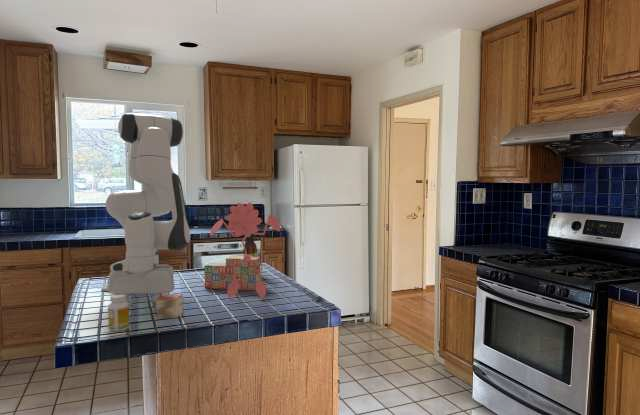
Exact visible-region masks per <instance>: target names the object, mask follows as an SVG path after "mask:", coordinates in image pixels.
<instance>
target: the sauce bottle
mask: <svg viewBox="0 0 640 415" xmlns="http://www.w3.org/2000/svg"><path fill="white" fill-rule="evenodd" d="M254 236H255V234H251V236H250V237H246V239H245V240H244V245H245V249H246V252H247V254H248V255H250V256H253V257H259V254H258V248H257V244H256V243H255V238H254ZM242 249H243V251H242V253H243V254H242V256H244V255H246V253H245V250H244V248H242Z"/></svg>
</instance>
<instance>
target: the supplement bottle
mask: <svg viewBox="0 0 640 415" xmlns="http://www.w3.org/2000/svg"><path fill="white" fill-rule="evenodd" d="M109 298H110V303H109V304H108V306H107V312H108V313H107V315H108V316H107V317H108V330H109V331H111V332H120V331H121V332H122V331H125V330H128V329H129V327H130V318H129V317H130V315H129V314H130V313H129V307H128V303H127V302H125V300H126V297H125V295H124V294H113V295H110V297H109Z"/></svg>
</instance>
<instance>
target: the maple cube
mask: <svg viewBox="0 0 640 415" xmlns="http://www.w3.org/2000/svg"><path fill="white" fill-rule="evenodd" d="M183 302H184V301H183V294H182V293H169V294H162V296H161V297H160V298H158V299H157V307H156V309H157V310H156V311H157V312H156V316H157V319H177V318H178V317H180V316H181V315H182V314H183V313H184V308H183V307H184V306H183V304H184V303H183Z"/></svg>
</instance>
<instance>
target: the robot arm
mask: <svg viewBox="0 0 640 415" xmlns="http://www.w3.org/2000/svg"><path fill="white" fill-rule="evenodd" d="M117 130H118V134H119V136H120V138H121V139H122V141H123V142H126V143H130V144H131V146H130V147H131V148H130V155H129V164H128V174H129V176H130V178H131V179H132V180H133V181H135V182H137V183H138V184H141V189H129V190H128V189H126V190H119V191H114V192H111V193H110V194H109V195H108V197H107V198H106V201H105V208H106V211H107V213H108V214H109V216H111V217H112V218H114V219H115V220H116V221H117V222H118V223H119V224H120V225H121V226H122V228H123V230H124V243H125V246H126V251H125V253H123V254H122V255H121V256H120V258H121V260H119V261H117V262H116V261H115V262H114V263H111V264H110V266H109V270H110V272H109V274H108V277H107V283H105V284H103V285H102V286H101V288H100V289H101V291H104V292H109V293H110V294H113V295H117V294H124V295H125V297H126V300H125V302H127V303H128V308H131V307H133V300H131V299H130V298H129V295H130V294H131V295H132V294H142V295H143V294H145V295H146V294H154V295H155V297H156V298H155V300H153V301H152V303H151V304H152V308H157V299H158V298H160V297H161V296H162V295H164V294H172V293H173V291H174V290H175V289H176V288H175V281H174V280H175V279H174V274H175V273H174V272H175V271H174V267H173V266H172V265H170V264H168V263H159V261H160V260H159V258H160V257H159V251H158V250H161V251H162V250H164V251H165V250H166V251H167V250H169V251H179V252H181V251H182V250H184V249H185V248H186V247H187V246H188V245H189V244H190V242H191V230H190V226H189V221H188V216H187V212H186V211H187V210H186V204H185V203H186V202H185V197H184V192H183V186H182V181H181V179H180V177H179V175H178V174H177V173H175V172H174V170H173V168H172V158H171V157H172V154H171V148H173V147H174V148H175V147H177V146H179V145H180V144H181V143H182V140H183V137H184V127H183V124H182V123H181V121H180V120H179V119H177V118H174V117H171V118H170V117H165V116H162V115H157V114H146V113H134V112H127V113H126V112H125V113H124V114H122V115H121V117H120V119H119V122H118V126H117ZM170 212H171V215H172V216H171V217H172V218H171V220H154V217H159V216H163V215H167V214H169V213H170Z"/></svg>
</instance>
